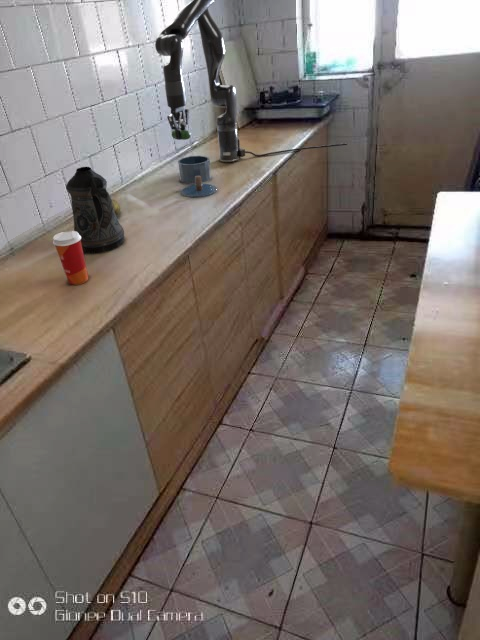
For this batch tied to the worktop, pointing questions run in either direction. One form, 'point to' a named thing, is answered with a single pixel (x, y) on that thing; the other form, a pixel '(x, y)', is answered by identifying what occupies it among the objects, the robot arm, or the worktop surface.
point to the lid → (199, 189)
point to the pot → (194, 168)
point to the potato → (116, 207)
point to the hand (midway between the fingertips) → (181, 138)
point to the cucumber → (182, 134)
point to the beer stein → (94, 212)
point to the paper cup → (71, 256)
